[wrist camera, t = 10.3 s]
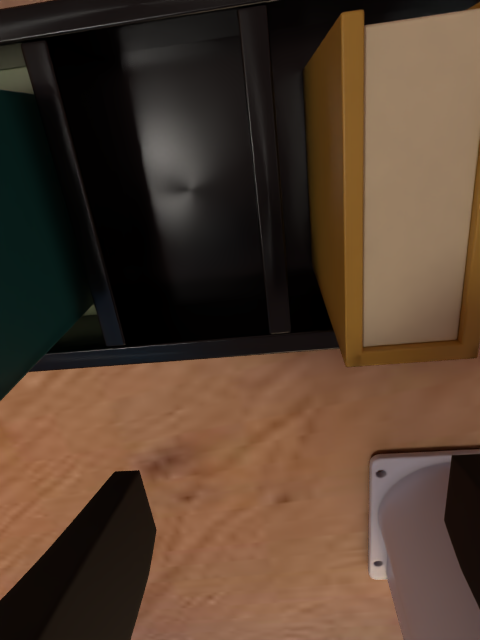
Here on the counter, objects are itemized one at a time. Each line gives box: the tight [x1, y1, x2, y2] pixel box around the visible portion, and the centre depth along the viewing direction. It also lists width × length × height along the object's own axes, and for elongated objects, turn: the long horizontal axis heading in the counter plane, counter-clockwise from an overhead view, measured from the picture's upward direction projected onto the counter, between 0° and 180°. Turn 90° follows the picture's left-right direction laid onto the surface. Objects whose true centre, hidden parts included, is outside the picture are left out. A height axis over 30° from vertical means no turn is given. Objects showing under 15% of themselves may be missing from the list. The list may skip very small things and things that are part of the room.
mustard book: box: [303, 2, 480, 367], centre depth 12 cm, size 7×3×8 cm, turn 7°
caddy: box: [0, 0, 480, 372], centre depth 15 cm, size 11×19×4 cm, turn 97°
